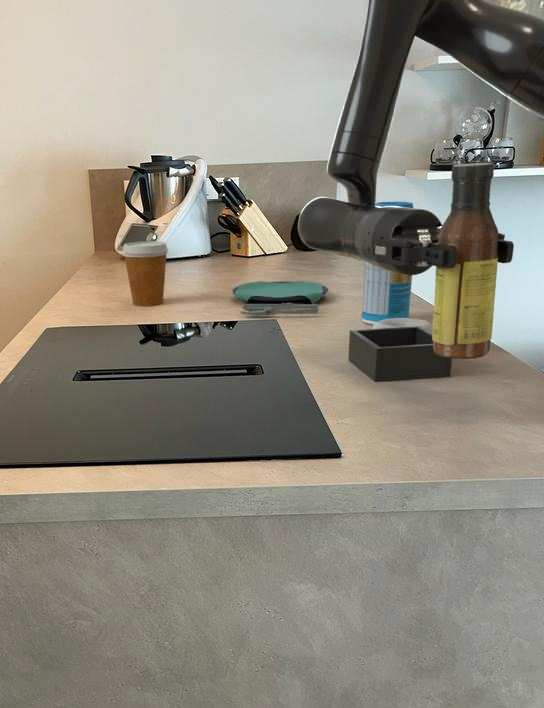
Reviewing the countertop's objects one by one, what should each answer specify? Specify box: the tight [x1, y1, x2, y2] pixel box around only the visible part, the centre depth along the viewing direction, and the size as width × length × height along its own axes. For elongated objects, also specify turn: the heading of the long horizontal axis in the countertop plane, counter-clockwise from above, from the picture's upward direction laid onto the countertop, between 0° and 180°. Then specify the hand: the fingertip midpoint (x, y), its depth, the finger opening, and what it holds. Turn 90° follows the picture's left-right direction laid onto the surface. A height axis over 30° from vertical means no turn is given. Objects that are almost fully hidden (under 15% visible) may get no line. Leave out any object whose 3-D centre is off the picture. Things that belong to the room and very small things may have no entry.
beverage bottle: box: [361, 201, 414, 326], centre depth 136 cm, size 8×8×20 cm
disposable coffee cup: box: [121, 240, 169, 307], centre depth 162 cm, size 10×10×12 cm
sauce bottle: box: [432, 162, 499, 360], centre depth 84 cm, size 6×6×20 cm
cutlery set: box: [232, 280, 329, 316], centre depth 159 cm, size 20×30×2 cm, turn 171°
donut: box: [370, 317, 433, 333], centre depth 124 cm, size 10×4×10 cm
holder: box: [347, 326, 453, 383], centre depth 110 cm, size 11×12×4 cm
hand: (481, 255), depth 81 cm, fingers closed on sauce bottle, 6 cm apart
